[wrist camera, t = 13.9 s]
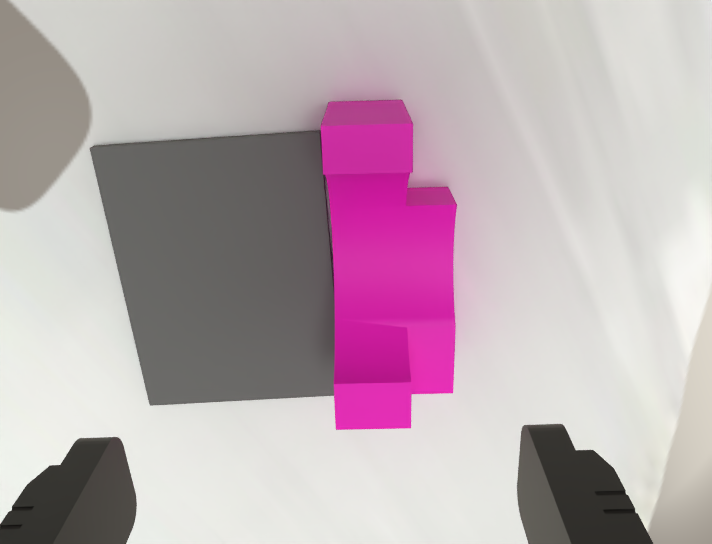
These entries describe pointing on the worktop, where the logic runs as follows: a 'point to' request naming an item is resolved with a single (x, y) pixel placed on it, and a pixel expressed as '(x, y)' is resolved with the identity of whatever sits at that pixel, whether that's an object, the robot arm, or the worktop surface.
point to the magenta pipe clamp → (386, 267)
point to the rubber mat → (224, 264)
